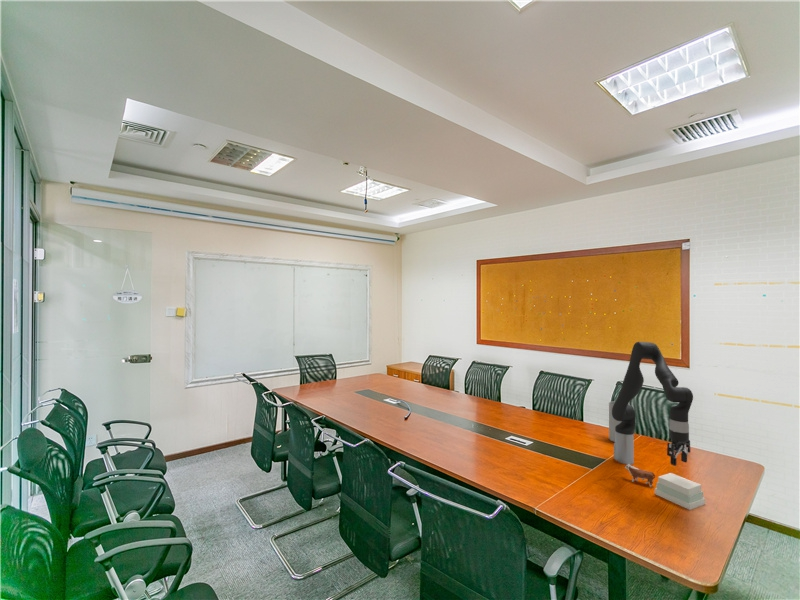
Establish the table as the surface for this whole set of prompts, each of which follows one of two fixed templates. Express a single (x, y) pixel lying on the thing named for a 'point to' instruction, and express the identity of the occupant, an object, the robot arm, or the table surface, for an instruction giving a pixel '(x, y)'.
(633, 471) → the bull figurine
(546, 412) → the table surface
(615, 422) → the cylinder vase
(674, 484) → the white stepped block
